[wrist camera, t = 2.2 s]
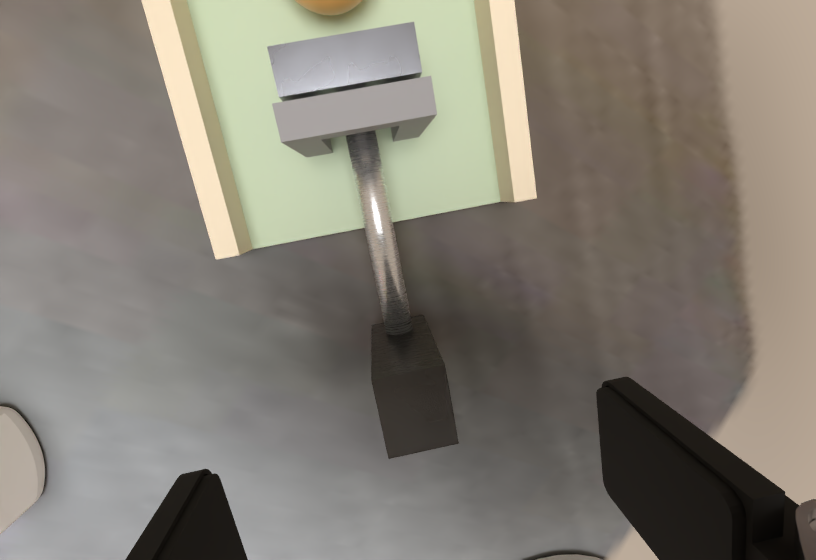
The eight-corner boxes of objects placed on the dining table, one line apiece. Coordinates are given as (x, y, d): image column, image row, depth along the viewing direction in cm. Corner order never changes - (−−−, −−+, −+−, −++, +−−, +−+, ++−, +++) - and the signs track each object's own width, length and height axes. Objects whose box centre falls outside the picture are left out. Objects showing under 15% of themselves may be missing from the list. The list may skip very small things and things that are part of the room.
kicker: (456, 363, 21) (493, 435, 15) (358, 383, 21) (353, 466, 14) (404, 59, 18) (423, -16, 12) (289, 79, 18) (244, 14, 11)
